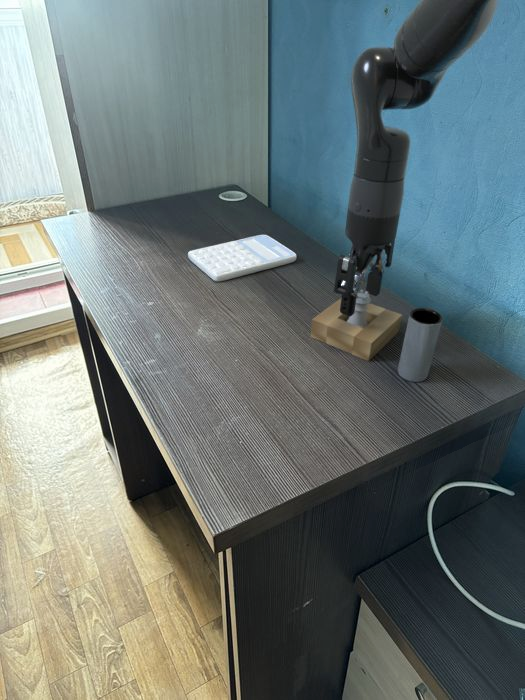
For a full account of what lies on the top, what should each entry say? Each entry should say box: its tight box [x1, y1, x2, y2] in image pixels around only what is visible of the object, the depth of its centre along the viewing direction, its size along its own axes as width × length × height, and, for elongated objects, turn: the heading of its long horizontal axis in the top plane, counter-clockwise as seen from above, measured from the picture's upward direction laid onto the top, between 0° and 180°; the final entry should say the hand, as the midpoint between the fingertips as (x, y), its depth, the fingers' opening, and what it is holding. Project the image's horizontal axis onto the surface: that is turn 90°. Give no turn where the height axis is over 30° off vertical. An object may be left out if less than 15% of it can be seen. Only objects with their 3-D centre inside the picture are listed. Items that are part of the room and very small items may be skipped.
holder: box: [310, 297, 403, 362], centre depth 87 cm, size 11×11×4 cm
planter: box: [397, 307, 443, 383], centre depth 76 cm, size 4×4×10 cm
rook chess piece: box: [347, 289, 372, 328], centre depth 85 cm, size 4×4×8 cm
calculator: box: [187, 234, 298, 282], centre depth 110 cm, size 13×20×2 cm, turn 122°
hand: (360, 303), depth 84 cm, fingers open, 8 cm apart
